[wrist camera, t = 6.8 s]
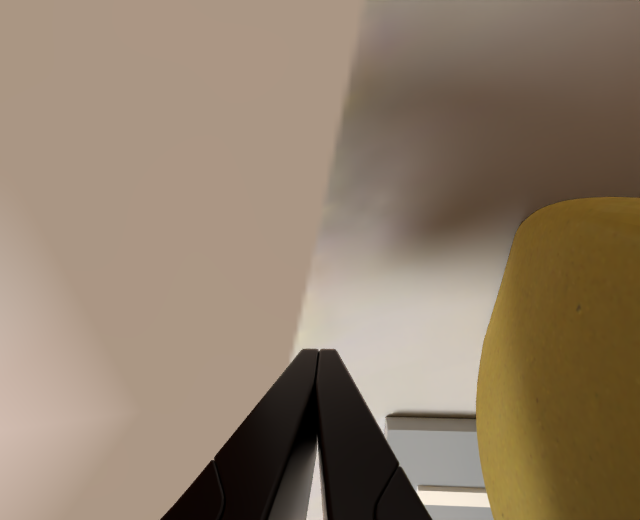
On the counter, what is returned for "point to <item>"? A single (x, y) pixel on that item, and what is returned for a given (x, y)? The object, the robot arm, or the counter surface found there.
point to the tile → (441, 465)
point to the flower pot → (565, 367)
